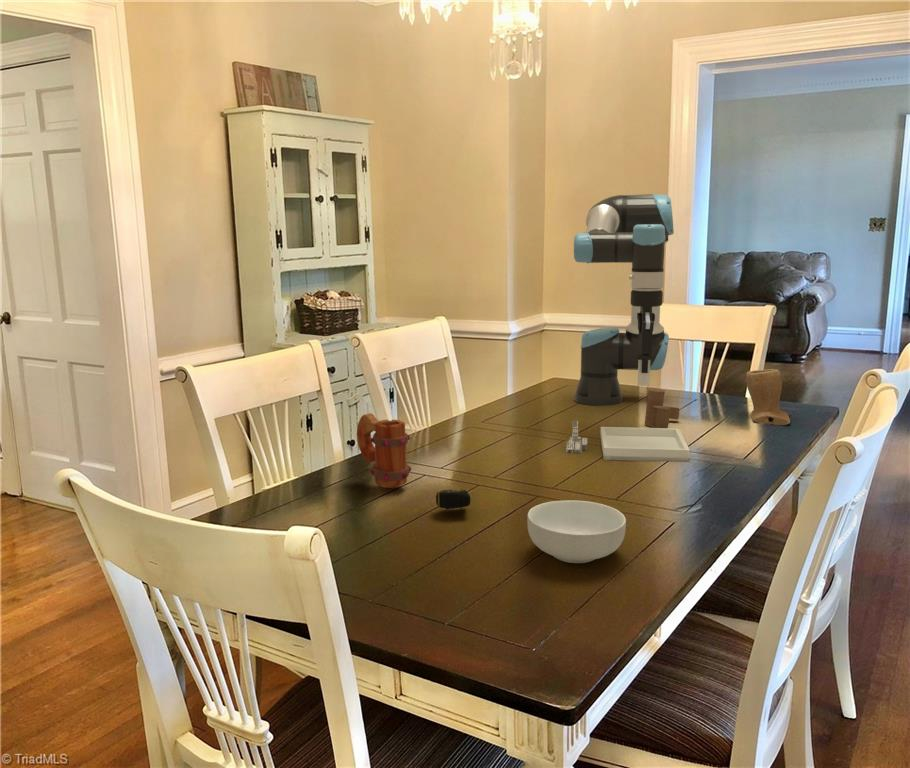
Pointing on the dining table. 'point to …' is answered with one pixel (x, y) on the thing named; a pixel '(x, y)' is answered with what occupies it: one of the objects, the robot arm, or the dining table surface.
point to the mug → (384, 449)
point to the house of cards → (576, 441)
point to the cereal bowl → (576, 529)
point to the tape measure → (452, 499)
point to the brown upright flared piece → (766, 396)
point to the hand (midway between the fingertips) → (643, 385)
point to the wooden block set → (659, 410)
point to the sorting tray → (643, 444)
